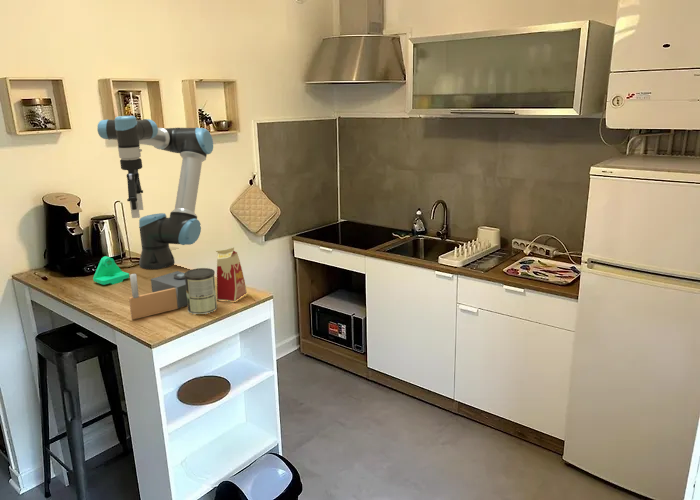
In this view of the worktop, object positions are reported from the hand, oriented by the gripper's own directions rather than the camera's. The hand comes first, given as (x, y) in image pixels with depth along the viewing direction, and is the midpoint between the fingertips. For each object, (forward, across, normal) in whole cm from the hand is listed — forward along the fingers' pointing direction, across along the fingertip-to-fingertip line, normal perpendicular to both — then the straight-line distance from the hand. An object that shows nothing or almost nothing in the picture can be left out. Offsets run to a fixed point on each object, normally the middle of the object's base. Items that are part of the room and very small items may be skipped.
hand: (137, 213), depth 207 cm
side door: (+29, -32, -6) cm, 43 cm away
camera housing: (+30, -18, -13) cm, 37 cm away
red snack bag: (+30, -22, -32) cm, 49 cm away
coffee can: (+30, -32, -21) cm, 48 cm away
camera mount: (+31, +11, +15) cm, 36 cm away
